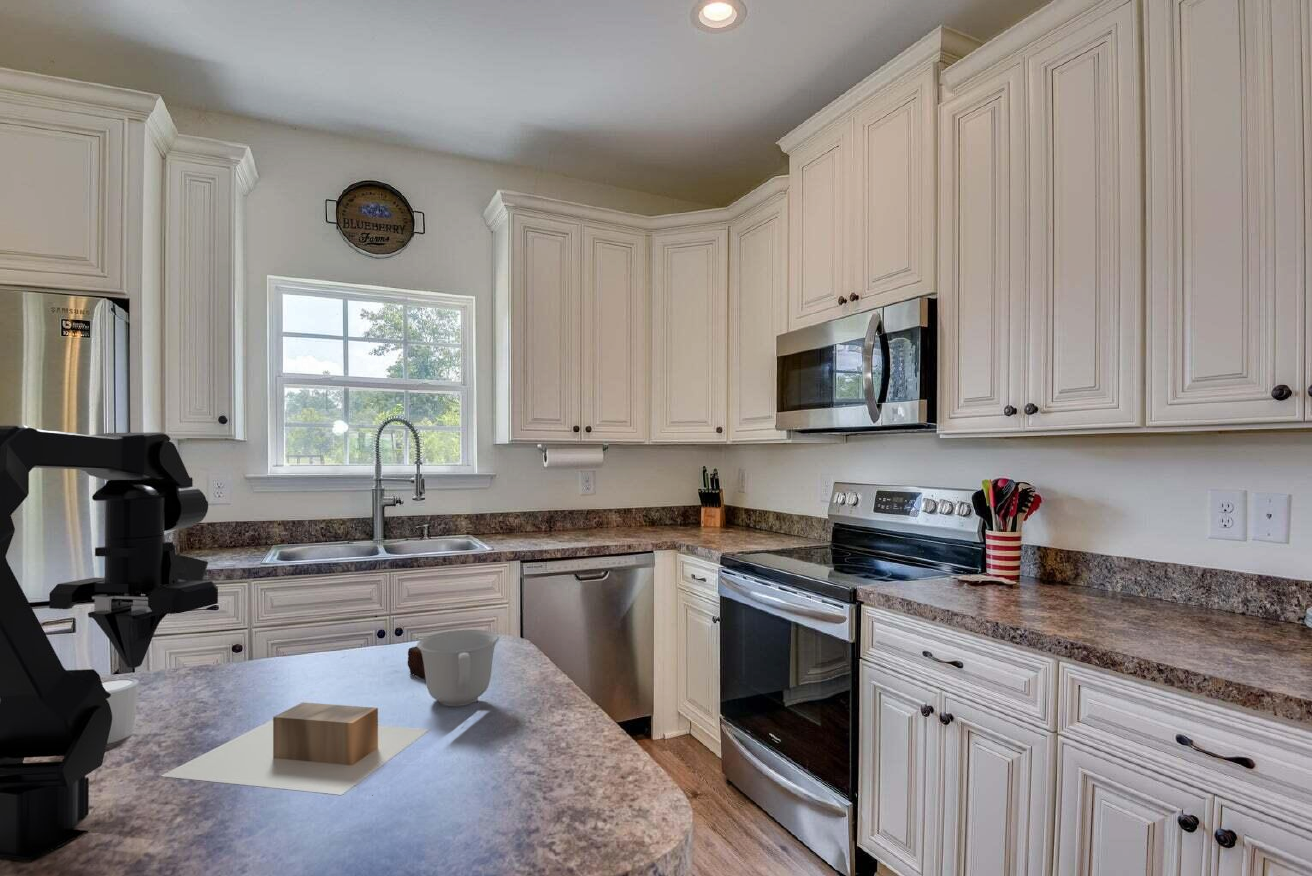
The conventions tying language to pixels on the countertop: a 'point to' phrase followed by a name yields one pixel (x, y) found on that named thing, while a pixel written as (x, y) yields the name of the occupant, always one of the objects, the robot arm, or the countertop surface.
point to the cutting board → (290, 763)
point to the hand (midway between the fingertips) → (134, 667)
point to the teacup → (458, 664)
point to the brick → (416, 662)
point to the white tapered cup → (122, 707)
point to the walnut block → (325, 733)
